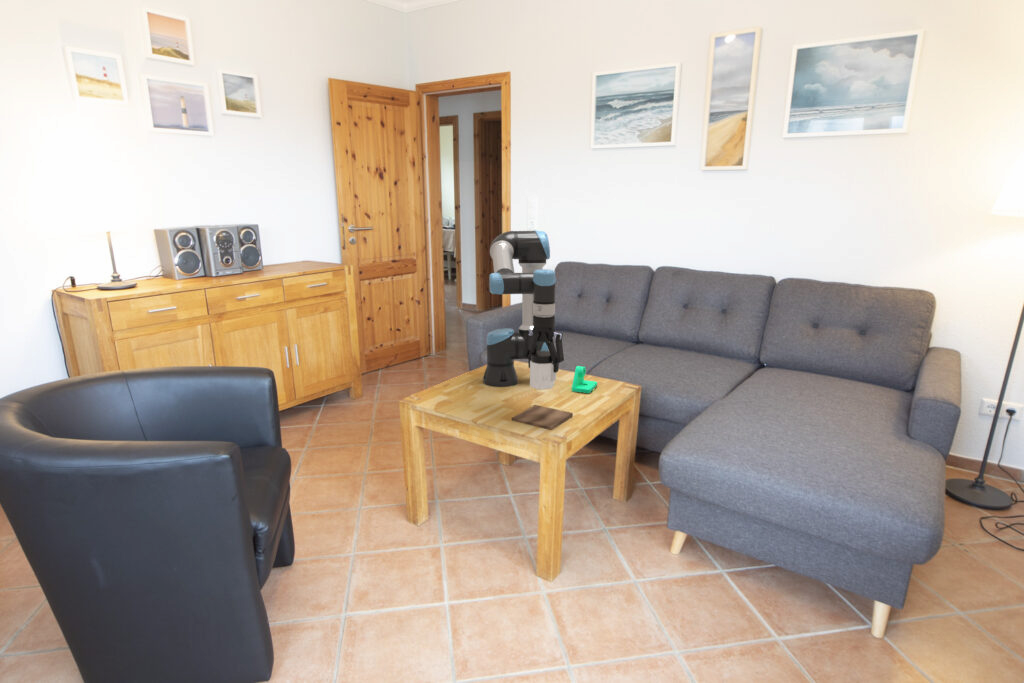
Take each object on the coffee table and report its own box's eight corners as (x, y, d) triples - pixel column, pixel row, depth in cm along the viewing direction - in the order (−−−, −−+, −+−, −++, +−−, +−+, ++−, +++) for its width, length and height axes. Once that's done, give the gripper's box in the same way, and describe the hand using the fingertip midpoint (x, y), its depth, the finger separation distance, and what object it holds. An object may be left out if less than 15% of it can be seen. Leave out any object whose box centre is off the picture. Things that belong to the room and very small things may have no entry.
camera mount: (589, 396, 228) (590, 371, 226) (571, 393, 231) (572, 369, 229) (597, 387, 239) (598, 364, 236) (580, 385, 242) (581, 362, 240)
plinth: (511, 424, 198) (511, 417, 197) (534, 410, 211) (534, 404, 211) (551, 434, 190) (551, 427, 189) (572, 419, 203) (572, 412, 202)
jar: (532, 390, 193) (533, 357, 190) (527, 383, 200) (527, 351, 197) (557, 388, 194) (558, 355, 192) (551, 381, 202) (551, 350, 199)
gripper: (512, 313, 193) (513, 377, 199) (565, 320, 183) (564, 386, 188) (524, 310, 200) (524, 372, 205) (575, 316, 189) (574, 381, 194)
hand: (543, 378), depth 196 cm, fingers closed on jar, 7 cm apart
